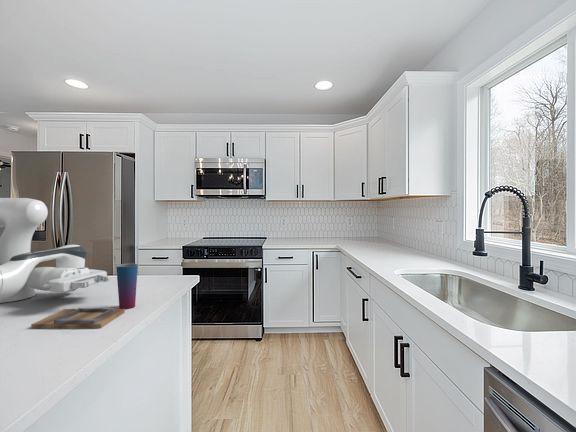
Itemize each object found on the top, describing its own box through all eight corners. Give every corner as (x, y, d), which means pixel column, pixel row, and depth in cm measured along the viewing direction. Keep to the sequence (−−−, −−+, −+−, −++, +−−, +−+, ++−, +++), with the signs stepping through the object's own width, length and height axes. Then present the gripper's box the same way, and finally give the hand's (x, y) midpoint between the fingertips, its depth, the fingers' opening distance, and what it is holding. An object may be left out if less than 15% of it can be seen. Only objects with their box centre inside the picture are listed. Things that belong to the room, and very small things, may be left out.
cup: (134, 303, 116) (134, 262, 116) (140, 307, 111) (140, 265, 111) (113, 306, 112) (113, 265, 111) (119, 311, 107) (119, 267, 106)
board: (31, 328, 91) (31, 320, 91) (64, 312, 105) (64, 306, 105) (101, 328, 92) (101, 320, 92) (124, 312, 106) (124, 306, 106)
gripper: (38, 277, 106) (72, 279, 103) (88, 266, 126) (118, 268, 123) (38, 295, 106) (72, 298, 103) (88, 282, 126) (118, 284, 123)
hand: (97, 281), depth 114 cm, fingers open, 8 cm apart
